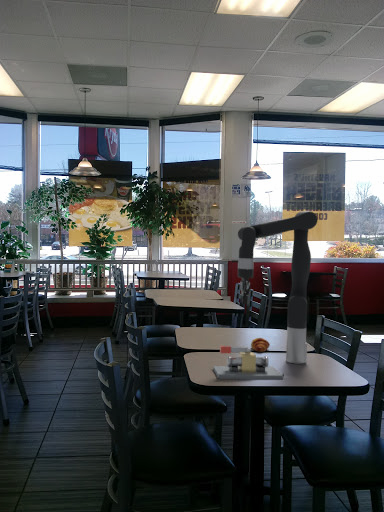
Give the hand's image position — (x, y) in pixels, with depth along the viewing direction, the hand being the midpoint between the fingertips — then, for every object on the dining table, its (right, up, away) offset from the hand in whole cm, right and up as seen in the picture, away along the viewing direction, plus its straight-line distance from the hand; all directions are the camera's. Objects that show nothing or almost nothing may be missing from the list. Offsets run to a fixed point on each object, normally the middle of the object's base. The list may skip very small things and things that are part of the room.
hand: (244, 303), depth 221 cm
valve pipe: (-1, -28, -19) cm, 33 cm away
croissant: (+13, -29, +34) cm, 47 cm away
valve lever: (-6, -20, -19) cm, 28 cm away
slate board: (-1, -29, -19) cm, 35 cm away
